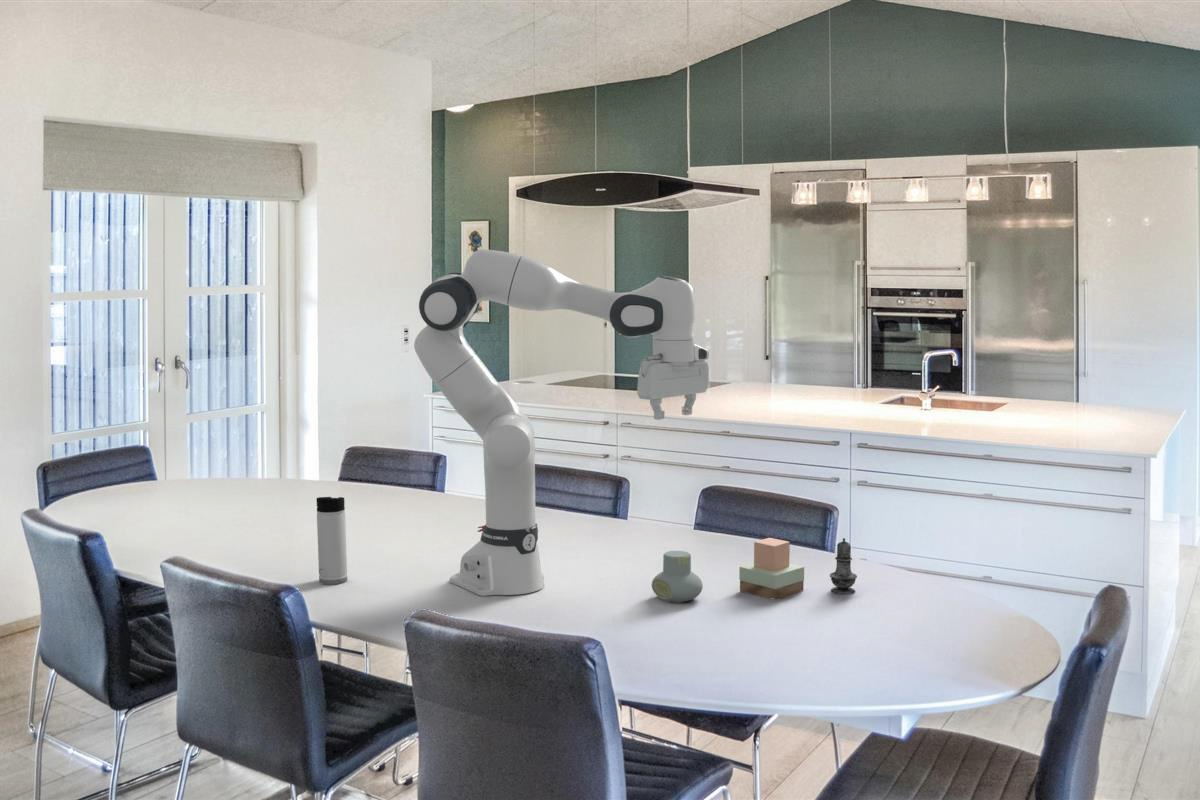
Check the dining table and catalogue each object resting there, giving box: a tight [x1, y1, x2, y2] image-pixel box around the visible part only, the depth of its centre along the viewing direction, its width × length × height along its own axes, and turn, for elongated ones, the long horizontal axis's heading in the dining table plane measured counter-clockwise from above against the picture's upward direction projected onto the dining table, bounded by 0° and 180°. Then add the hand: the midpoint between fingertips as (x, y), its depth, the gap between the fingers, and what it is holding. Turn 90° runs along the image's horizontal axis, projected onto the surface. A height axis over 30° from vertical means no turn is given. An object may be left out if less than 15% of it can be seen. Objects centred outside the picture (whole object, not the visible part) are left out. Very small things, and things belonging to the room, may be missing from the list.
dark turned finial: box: [829, 537, 858, 596], centre depth 253 cm, size 6×6×12 cm
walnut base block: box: [739, 579, 805, 601], centre depth 254 cm, size 10×10×3 cm
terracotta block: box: [753, 537, 791, 571], centre depth 254 cm, size 6×6×6 cm
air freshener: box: [651, 550, 704, 604], centre depth 248 cm, size 11×8×10 cm
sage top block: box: [738, 562, 805, 589], centre depth 254 cm, size 10×10×3 cm
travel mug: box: [316, 496, 348, 586], centre depth 263 cm, size 6×7×20 cm
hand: (673, 417), depth 248 cm, fingers open, 8 cm apart
